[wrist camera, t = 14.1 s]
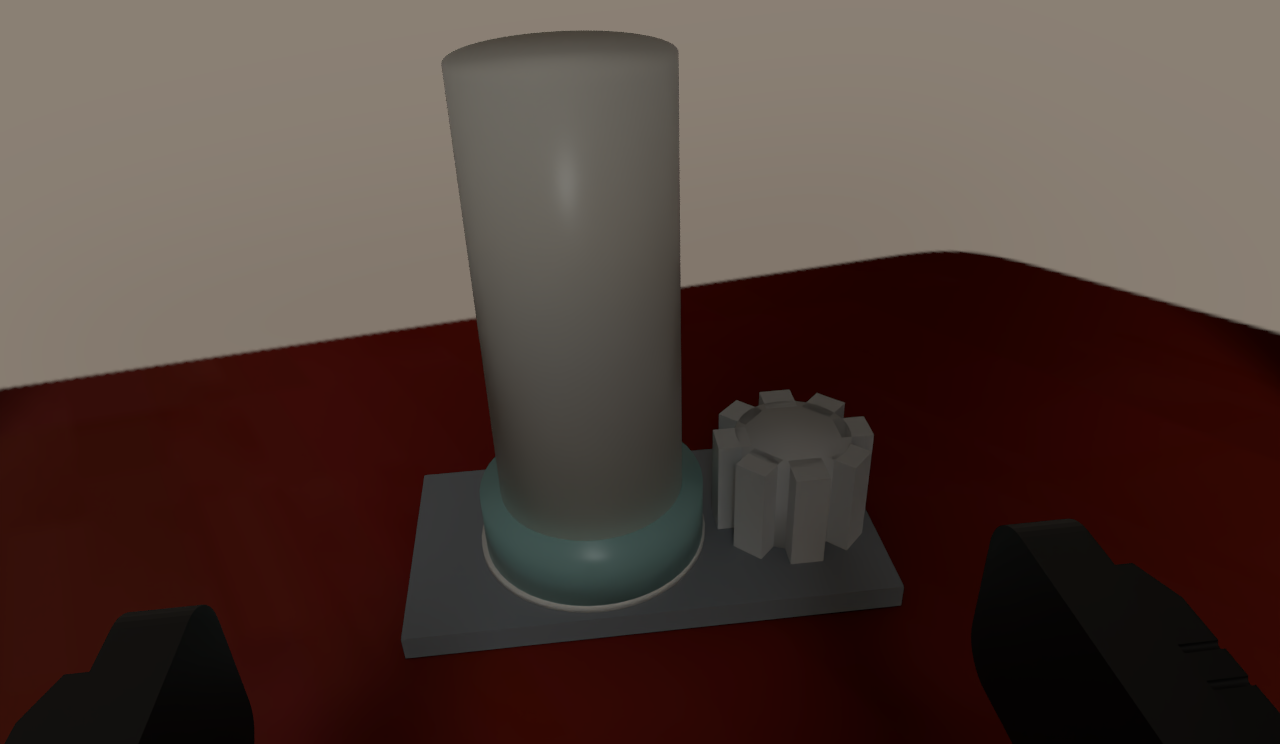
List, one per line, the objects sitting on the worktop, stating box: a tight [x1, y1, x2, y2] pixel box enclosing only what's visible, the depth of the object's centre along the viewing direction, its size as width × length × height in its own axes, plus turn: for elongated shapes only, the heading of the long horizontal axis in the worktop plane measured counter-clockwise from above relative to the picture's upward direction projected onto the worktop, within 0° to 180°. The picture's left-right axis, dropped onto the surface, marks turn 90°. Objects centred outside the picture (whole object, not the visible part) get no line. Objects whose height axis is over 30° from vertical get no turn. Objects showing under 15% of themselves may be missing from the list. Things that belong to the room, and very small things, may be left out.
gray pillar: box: [442, 31, 703, 606], centre depth 20 cm, size 5×5×12 cm
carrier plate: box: [401, 390, 904, 659], centre depth 23 cm, size 12×6×3 cm, turn 96°
